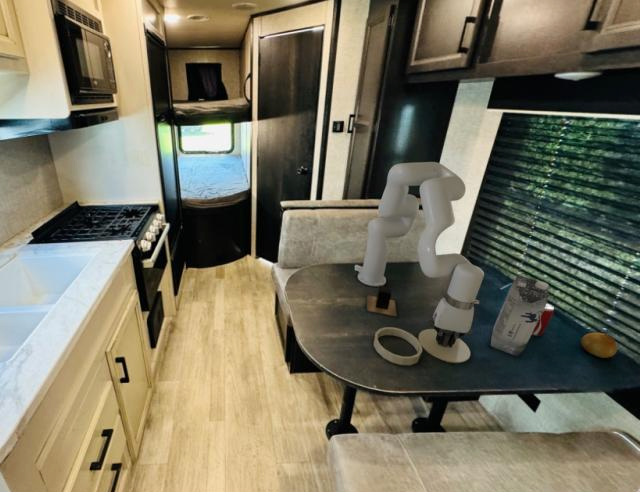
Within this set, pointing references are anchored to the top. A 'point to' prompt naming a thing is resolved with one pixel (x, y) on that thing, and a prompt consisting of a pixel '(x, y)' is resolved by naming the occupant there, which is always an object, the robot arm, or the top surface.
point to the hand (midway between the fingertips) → (444, 343)
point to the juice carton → (519, 315)
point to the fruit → (599, 344)
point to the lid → (444, 346)
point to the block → (383, 297)
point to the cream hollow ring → (393, 357)
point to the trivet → (373, 308)
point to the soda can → (543, 320)
